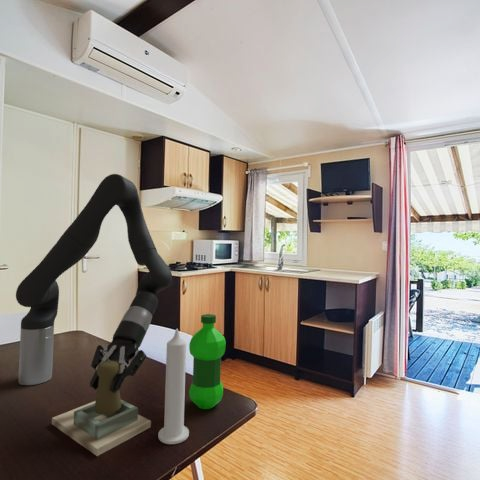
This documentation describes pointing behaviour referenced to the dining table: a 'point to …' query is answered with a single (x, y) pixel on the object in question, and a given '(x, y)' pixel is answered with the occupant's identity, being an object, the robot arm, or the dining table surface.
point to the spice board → (101, 426)
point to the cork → (107, 388)
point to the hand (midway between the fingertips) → (102, 389)
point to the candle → (174, 393)
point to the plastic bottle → (207, 364)
